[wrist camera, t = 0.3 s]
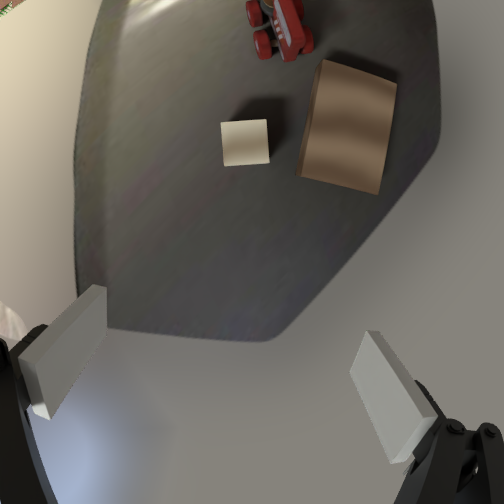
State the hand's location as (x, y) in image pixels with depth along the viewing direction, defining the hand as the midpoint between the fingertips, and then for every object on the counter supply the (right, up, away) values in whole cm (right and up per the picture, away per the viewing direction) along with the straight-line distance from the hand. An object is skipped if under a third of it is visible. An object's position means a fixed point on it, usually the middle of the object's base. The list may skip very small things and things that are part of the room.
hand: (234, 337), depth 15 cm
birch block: (0, +17, +23) cm, 29 cm away
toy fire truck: (+4, +33, +19) cm, 39 cm away
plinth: (+13, +20, +23) cm, 33 cm away
